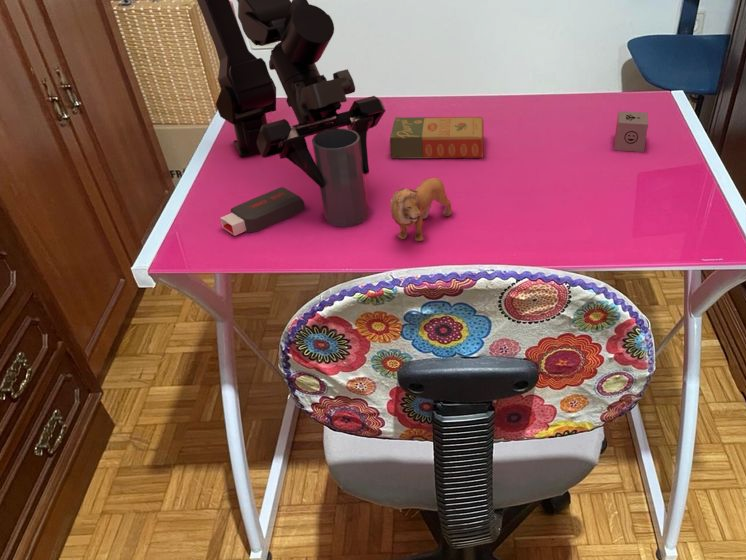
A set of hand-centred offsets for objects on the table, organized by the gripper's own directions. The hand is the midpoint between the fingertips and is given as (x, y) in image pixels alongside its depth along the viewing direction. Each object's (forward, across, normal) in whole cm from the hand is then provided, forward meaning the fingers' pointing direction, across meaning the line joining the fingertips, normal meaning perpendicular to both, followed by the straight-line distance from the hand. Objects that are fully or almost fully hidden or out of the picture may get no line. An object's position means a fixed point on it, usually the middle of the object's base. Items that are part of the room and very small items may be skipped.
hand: (345, 179), depth 106 cm
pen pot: (+4, 0, +6) cm, 7 cm away
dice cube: (+9, +52, +1) cm, 53 cm away
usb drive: (-1, -11, +10) cm, 15 cm away
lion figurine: (+11, +8, -2) cm, 14 cm away
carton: (-4, +24, +14) cm, 28 cm away
